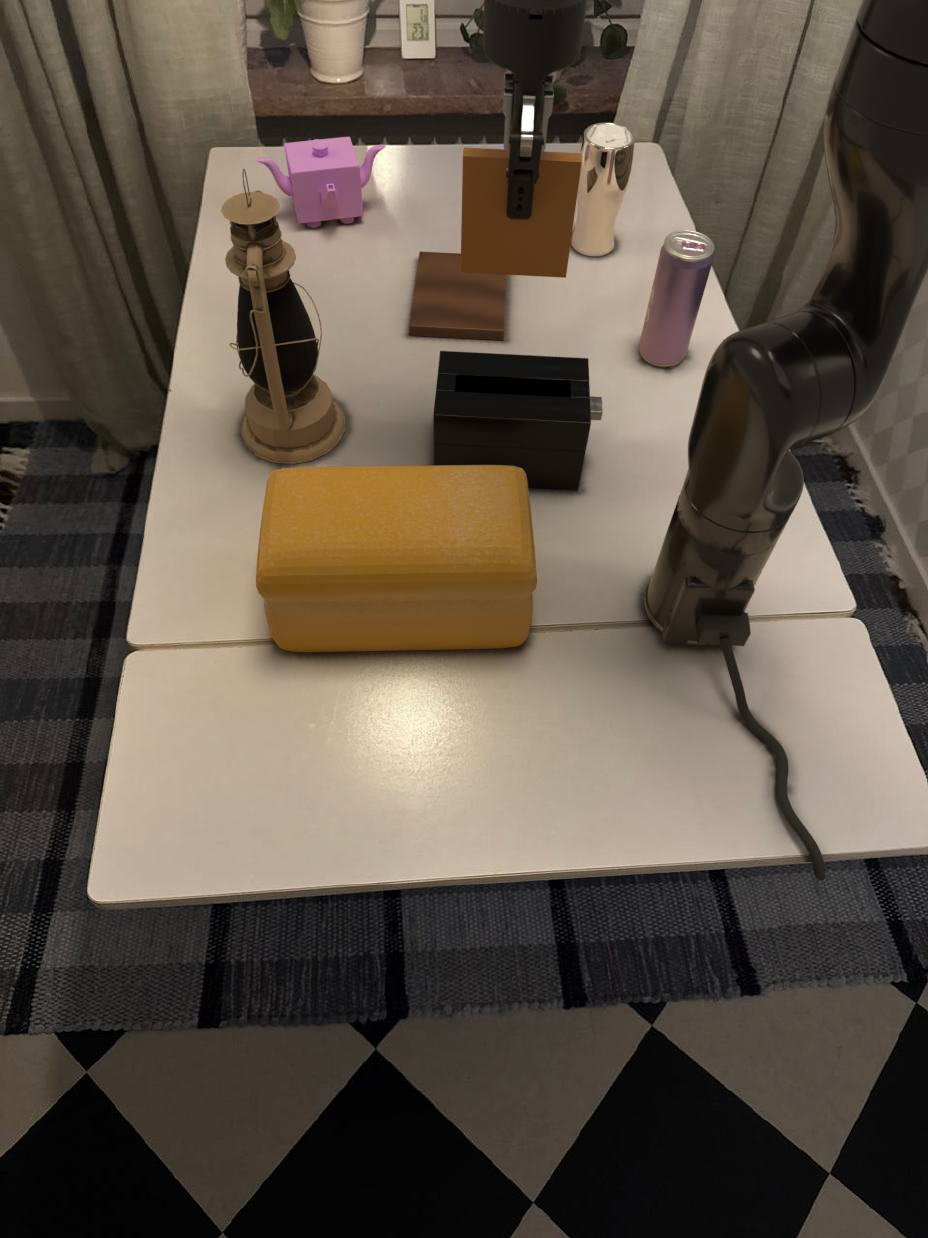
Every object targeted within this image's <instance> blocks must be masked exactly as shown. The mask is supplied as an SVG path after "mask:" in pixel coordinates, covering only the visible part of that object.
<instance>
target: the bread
mask: <svg viewBox="0 0 928 1238" xmlns="http://www.w3.org/2000/svg"><path fill="white" fill-rule="evenodd" d="M260 519H261V520H260V529H259V536H258V537H259V538H258V547H257V555H256V556H257V558H256V566H255V567H256V571H255V587H256V590H257V593H258V594H259V595H260V596H261V597H262V599H263V600H264V604H263V607H264V615H265V618H266V623H267V626H268V630H269V633H270V635H271V637H272V639H273V641H274V642H275V644H276V645H277V647H279V649H281V650H283V651H287V652H291V653H292V652H294V653H336V652H338V653H339V652H340V653H341V652H344V653H345V652H385V651H386V652H387V651H388V652H389V651H391V652H393V651H395V652H396V651H434V650H435V651H437V650H486V649H487V650H488V649H489V650H490V649H506V648H515V647H519V646H522V645H523V644H525V641H526V640H527V638H528V636H529V634H530V631H531V627H532V620H533V612H534V611H533V609H534V601H533V600H534V599H533V598H534V597H533V593H534V592H535V590H536V589H537V585H538V575H537V560H536V547H535V538H534V527H533V517H532V507H531V499H530V491H529V488H528V482H527V476H526V473H525V472H524V470H523V469H522V468H519V467H516V466H506V465H443V466H434V465H372V466H371V465H370V466H369V465H368V466H365V465H364V466H360V465H359V466H358V465H357V466H303V467H301V466H300V467H299V466H298V467H285V468H284V467H283V468H278V469H275V470H271V472H270V474H269V476H268V478H267V482H266V487H265V493H264V499H263V506H262V514H261V518H260Z"/></svg>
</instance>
